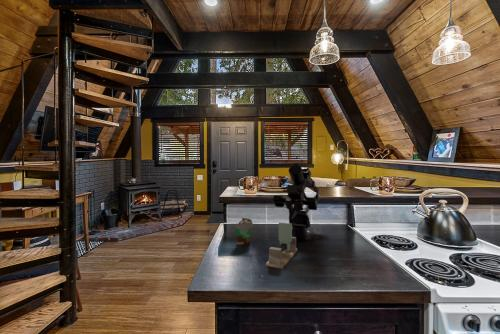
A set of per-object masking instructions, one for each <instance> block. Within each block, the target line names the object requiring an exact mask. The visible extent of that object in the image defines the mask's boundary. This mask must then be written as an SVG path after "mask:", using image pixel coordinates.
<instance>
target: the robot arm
mask: <svg viewBox="0 0 500 334" xmlns="http://www.w3.org/2000/svg"><path fill="white" fill-rule="evenodd" d="M288 173H289V177H290V180H291V182H292V184H287V185H286V186H287V187H286V193H287V197H285V198H284V196H283V195H281V194H275V195H273V197H272V201H273V204H274V206H275V207H277V208H283V207H285V208H286V209H287V210H288V223H292V237H296V242H298V243H302V242H305V241H309V240H310V238H309V237H307V236H308V232H307V231H308V229H310V228H311V220H310V217H309V215H308V213H309V211H310V210H311V211H317V210H318V202H319V200H320V191H319V188H318V187H317V186H316V182H315V180H314V179H313V178H312V176H311V175H312V170H310V168H309V167H301V165H300V163H294V164H293V165H291V166H290V167H289V168H288ZM307 188H308V189H309V188H311V189H312V190H313V191H306V189H307Z"/></svg>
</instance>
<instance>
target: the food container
mask: <svg viewBox="0 0 500 334" xmlns="http://www.w3.org/2000/svg"><path fill="white" fill-rule="evenodd" d="M252 220H253V219H251V218H246V217H241V220H240V221H239V222H238V223H235V230H236V231H235V233H236V234H235V235H236V247H244V246H248V245H251V241H252V240H251V237H252V227H253V226H254V224H253V223H254V222H253V221H252Z"/></svg>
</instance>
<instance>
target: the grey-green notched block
mask: <svg viewBox="0 0 500 334" xmlns="http://www.w3.org/2000/svg"><path fill="white" fill-rule="evenodd" d="M278 241H279V246H280V245H281V244H283V243H284V244H287V248H286V249H285V250H284V251H289V250H290V242H292V223H289V222H281V221H279V222H278Z"/></svg>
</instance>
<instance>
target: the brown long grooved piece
mask: <svg viewBox="0 0 500 334" xmlns="http://www.w3.org/2000/svg"><path fill="white" fill-rule="evenodd" d="M286 248H287V244H284V243H283V244H281V245H280V244H279V246H278V247H275V246H274V247H273V246H270V247H269V248H268V260H267V262H265V266H266V267H271V268H276V269H281V270H283V269H284V267H285V266H286V265H287V264H288V263H289V262H290V260H292V258H293V257H294V255H295V254H296V253H297V251H298V248H297V241H296V237H292V242H290V250H289V251H284V250H285V249H286Z"/></svg>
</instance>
